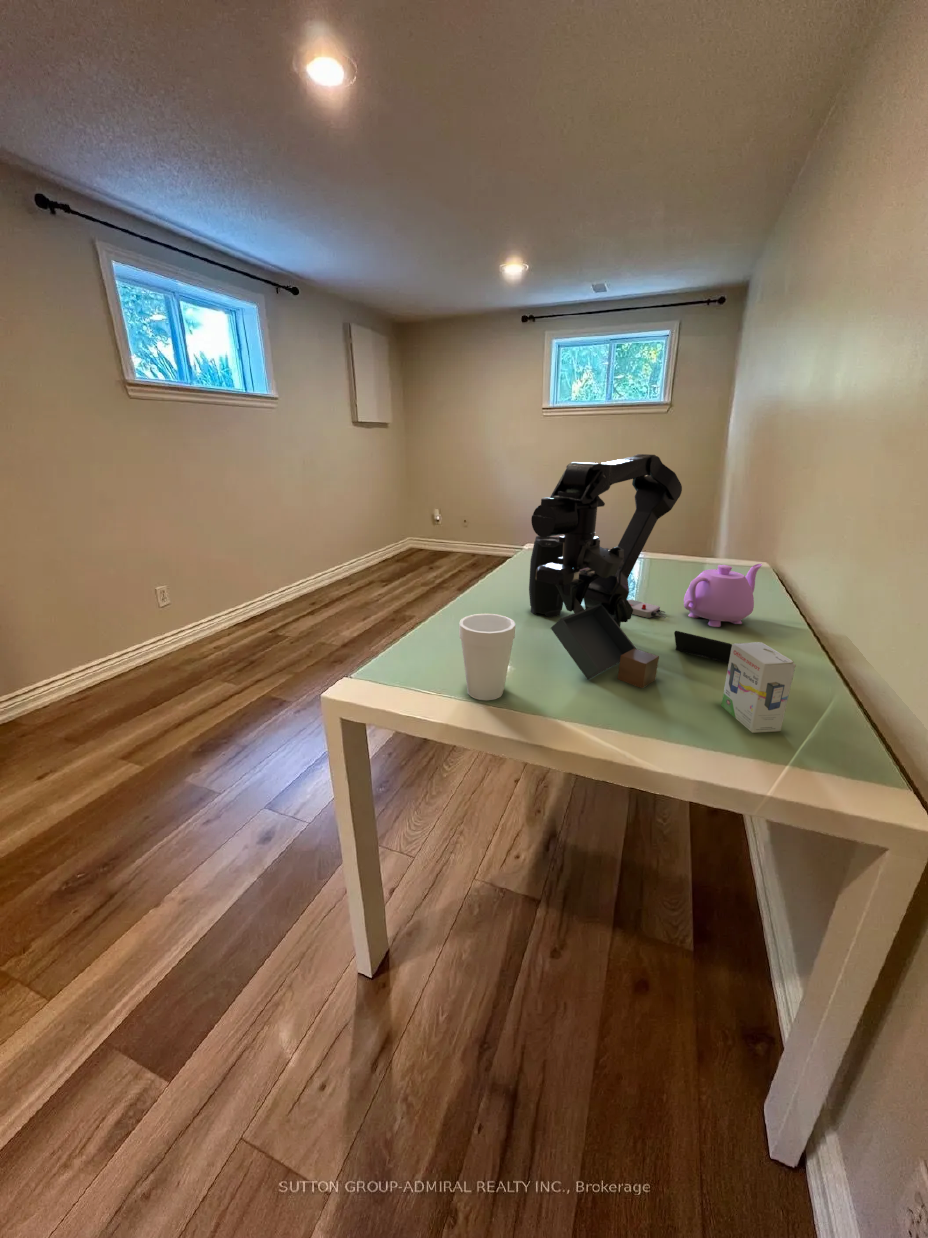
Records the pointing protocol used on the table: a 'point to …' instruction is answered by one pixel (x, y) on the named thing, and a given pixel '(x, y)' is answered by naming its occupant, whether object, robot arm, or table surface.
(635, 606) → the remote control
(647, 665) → the block
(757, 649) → the ink box
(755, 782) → the table surface
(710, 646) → the handheld gaming console
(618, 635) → the tray
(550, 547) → the portable speaker
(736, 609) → the teapot
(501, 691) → the foam cup
